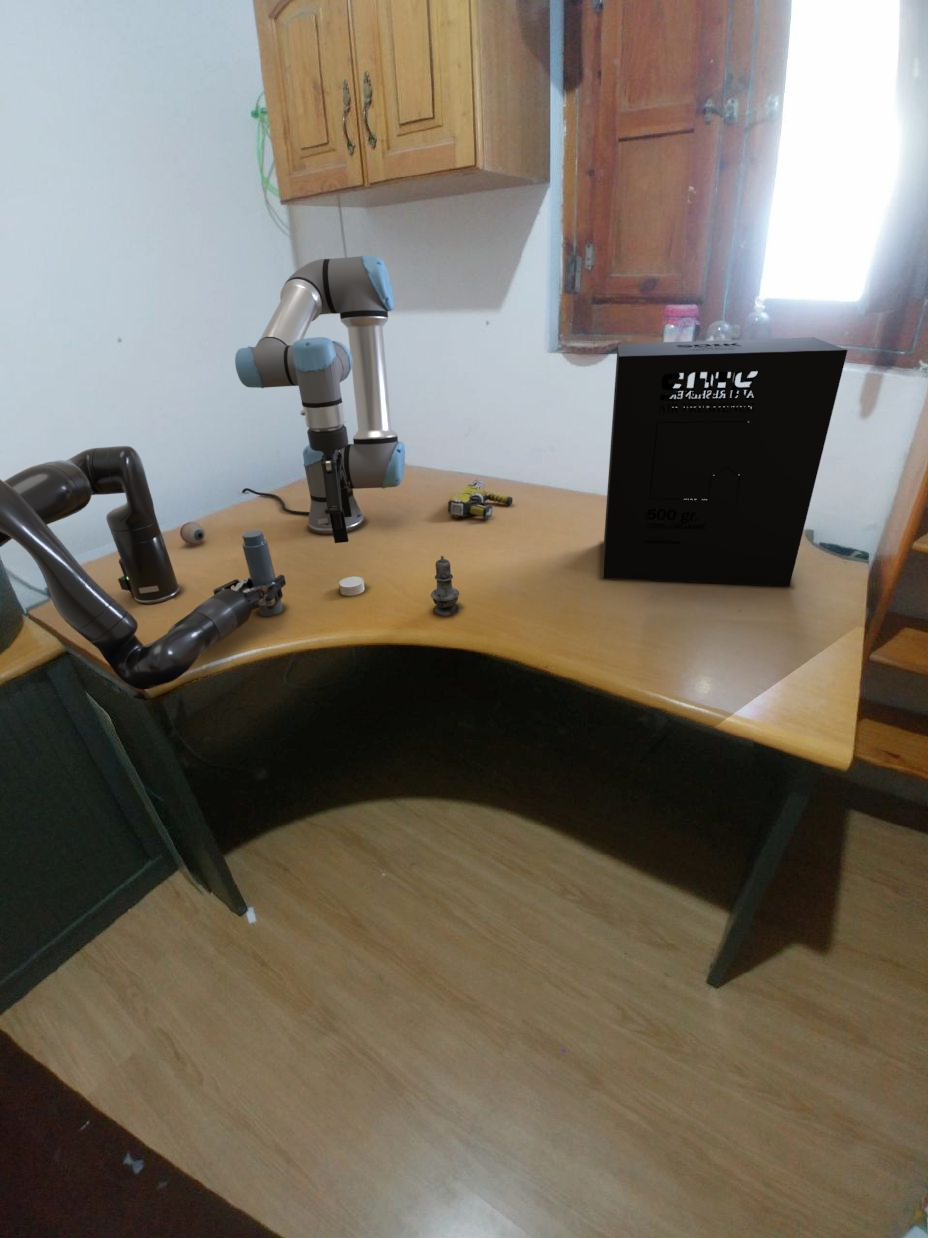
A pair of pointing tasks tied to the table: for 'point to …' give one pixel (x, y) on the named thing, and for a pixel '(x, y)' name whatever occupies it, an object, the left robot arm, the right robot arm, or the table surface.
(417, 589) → the table surface
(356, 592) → the white cylinder
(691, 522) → the cardboard box
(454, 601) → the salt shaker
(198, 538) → the eyeball
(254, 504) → the table surface
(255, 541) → the bottle
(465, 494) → the toy gun
